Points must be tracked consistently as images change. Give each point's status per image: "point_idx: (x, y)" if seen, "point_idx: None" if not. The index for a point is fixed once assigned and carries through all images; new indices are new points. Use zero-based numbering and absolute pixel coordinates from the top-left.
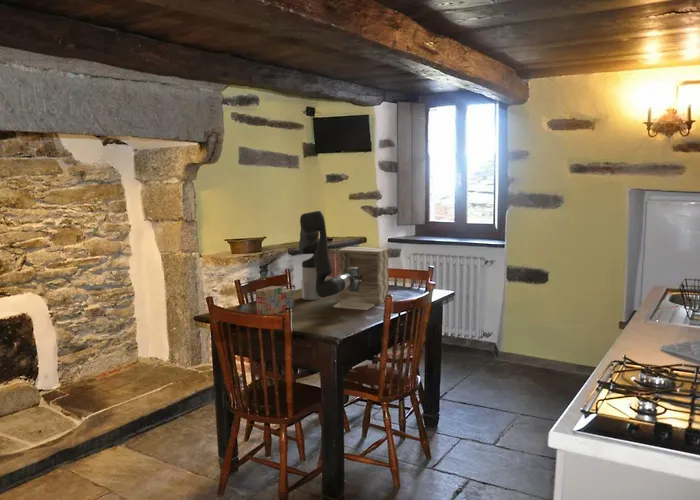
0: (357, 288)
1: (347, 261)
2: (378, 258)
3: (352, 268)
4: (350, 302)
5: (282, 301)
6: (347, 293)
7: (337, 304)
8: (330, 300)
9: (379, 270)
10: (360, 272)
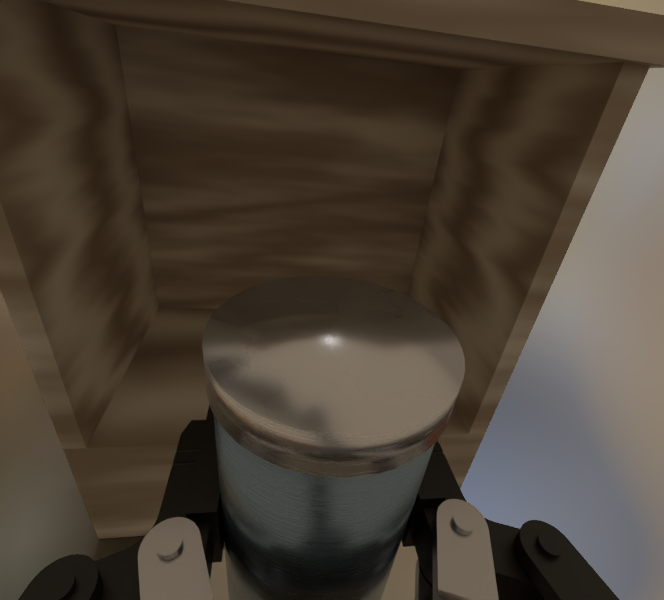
0: None
1: (108, 155)
2: (609, 139)
3: (378, 449)
4: (221, 578)
5: None
6: None
7: None
8: (2, 519)
9: (545, 283)
10: (231, 242)
